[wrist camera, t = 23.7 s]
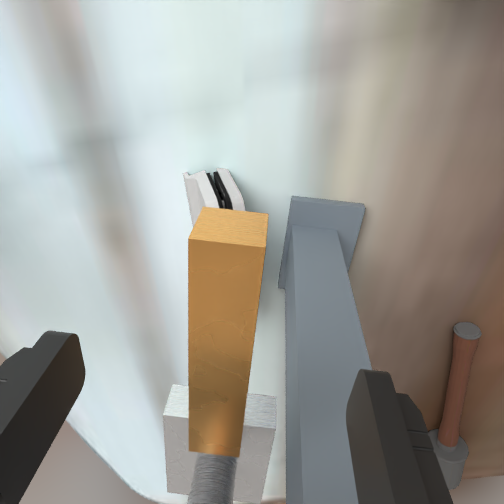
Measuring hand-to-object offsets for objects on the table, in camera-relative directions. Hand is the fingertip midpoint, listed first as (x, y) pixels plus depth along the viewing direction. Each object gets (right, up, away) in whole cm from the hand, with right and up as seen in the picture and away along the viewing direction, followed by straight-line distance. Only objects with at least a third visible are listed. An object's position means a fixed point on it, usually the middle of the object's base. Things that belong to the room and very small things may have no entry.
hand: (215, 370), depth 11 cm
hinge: (-2, +6, +34) cm, 35 cm away
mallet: (+31, -18, +46) cm, 59 cm away
